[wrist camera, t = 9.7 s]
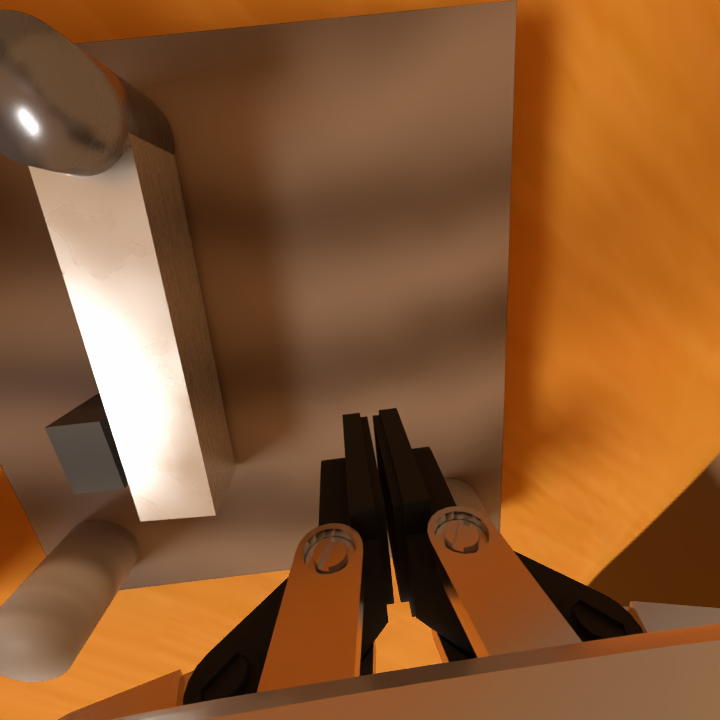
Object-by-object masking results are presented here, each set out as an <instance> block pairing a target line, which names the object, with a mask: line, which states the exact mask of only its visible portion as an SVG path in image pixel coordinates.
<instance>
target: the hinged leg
mask: <svg viewBox="0 0 720 720" xmlns="http://www.w3.org/2000/svg"><path fill="white" fill-rule="evenodd" d="M0 153H2V154H3V155H5V156H7V157H8V158H10V159H12V160H14V161H16V162H19V163H21V164H24V165H28V167H29V170H30V173H31V176H32V179H33V183H34V186H35V189H36V192H37V195H38V198H39V202H40V205H41V208H42V211H43V214H44V217H45V221H46V224H47V227H48V230H49V233H50V236H51V240H52V243H53V246H54V249H55V252H56V256H57V259H58V262H59V265H60V268H61V271H62V275H63V278H64V281H65V284H66V287H67V290H68V294H69V297H70V300H71V303H72V306H73V309H74V313H75V316H76V319H77V322H78V325H79V328H80V332H81V335H82V338H83V341H84V344H85V348H86V351H87V354H88V357H89V360H90V363H91V367H92V370H93V373H94V376H95V379H96V382H97V386H98V389H99V392H100V395H101V398H102V401H103V405H104V408H105V411H106V414H107V417H108V420H109V424H110V427H111V430H112V433H113V436H114V440H115V443H116V446H117V449H118V452H119V455H120V459H121V462H122V465H123V468H124V471H125V474H126V478H127V481H128V484H129V487H130V490H131V493H132V497H133V500H134V503H135V506H136V509H137V512H138V516H139V519H140V521H153V520H165V519H178V518H190V517H203V516H215V515H216V514H217V512H218V510H219V507H220V505H221V503H222V501H223V498H224V496H225V494H226V492H227V489H228V487H229V485H230V483H231V481H232V478H233V476H234V474H235V472H236V467H235V462H234V456H233V451H232V446H231V441H230V436H229V431H228V426H227V421H226V416H225V411H224V406H223V400H222V395H221V390H220V385H219V380H218V375H217V370H216V365H215V360H214V355H213V350H212V344H211V339H210V334H209V329H208V324H207V319H206V314H205V309H204V304H203V299H202V294H201V288H200V283H199V278H198V273H197V268H196V263H195V258H194V253H193V248H192V243H191V238H190V233H189V227H188V222H187V217H186V212H185V207H184V202H183V197H182V192H181V187H180V182H179V177H178V171H177V166H176V161H175V156H174V154H175V143H174V137H173V133H172V130H171V127H170V124H169V122H168V120H167V118H166V117H165V115H164V114H163V112H162V111H161V109H160V108H159V107H158V106H157V105H156V104H155V103H154V102H153V101H152V100H151V99H150V98H148V97H147V96H146V95H144V94H143V93H142V92H140V91H139V90H137V89H136V88H135V87H133V86H132V85H130V84H129V83H128V82H126V81H125V80H124V79H122V78H121V77H119V76H118V75H117V74H115V73H114V72H113V71H111V70H110V69H108V68H107V67H106V66H104V65H103V64H102V63H100V62H99V61H97V60H96V59H95V58H93V57H92V56H90V55H89V54H88V53H86V52H85V51H84V50H82V49H81V48H79V47H78V46H77V45H75V44H74V43H73V42H71V41H70V40H68V39H67V38H66V37H64V36H63V35H62V34H60V33H59V32H57V31H56V30H55V29H53V28H52V27H50V26H49V25H47V24H46V23H44V22H43V21H41V20H39V19H37V18H35V17H33V16H31V15H28V14H25V13H22V12H18V11H13V10H0Z"/></svg>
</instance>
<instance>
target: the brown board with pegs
mask: <svg viewBox="0 0 720 720" xmlns="http://www.w3.org/2000/svg"><path fill="white" fill-rule="evenodd" d="M516 8H517V0H513V1H503V2H493V3H483V4H473V5H463V6H452V7H442V8H432V9H422V10H412V11H402V12H392V13H382V14H371V15H361V16H351V17H341V18H331V19H321V20H311V21H301V22H291V23H280V24H270V25H260V26H250V27H240V28H230V29H220V30H210V31H199V32H189V33H179V34H169V35H159V36H149V37H139V38H129V39H118V40H108V41H98V42H88V43H78V44H75V45H77V46H78V47H79V48H81V49H82V50H84V51H85V52H86V53H88V54H89V55H90V56H92V57H93V58H95V59H96V60H97V61H99V62H100V63H102V64H103V65H104V66H106V67H107V68H108V69H110V70H111V71H113V72H114V73H115V74H117V75H118V76H119V77H121V78H122V79H124V80H125V81H126V82H128V83H129V84H130V85H132V86H133V87H135V88H136V89H137V90H139V91H140V92H142V93H143V94H144V95H146V96H147V97H148V98H150V99H151V100H152V101H153V102H154V103H155V104H156V105H157V106H158V107H159V108H160V109H161V111H162V112H163V114H164V115H165V117H166V118H167V120H168V122H169V124H170V127H171V130H172V133H173V137H174V143H175V154H174V156H175V161H176V166H177V171H178V177H179V182H180V187H181V192H182V197H183V202H184V207H185V212H186V217H187V222H188V227H189V233H190V238H191V243H192V248H193V253H194V258H195V263H196V268H197V273H198V278H199V283H200V288H201V294H202V299H203V304H204V309H205V314H206V319H207V324H208V329H209V334H210V339H211V344H212V350H213V355H214V360H215V365H216V370H217V375H218V380H219V385H220V390H221V395H222V400H223V406H224V411H225V416H226V421H227V426H228V431H229V436H230V441H231V446H232V451H233V456H234V462H235V467H236V472H235V474H234V476H233V478H232V481H231V483H230V485H229V487H228V489H227V492H226V494H225V496H224V498H223V501H222V503H221V505H220V507H219V510H218V512H217V514H216V515H215V516H203V517H190V518H178V519H165V520H153V521H140V519H139V516H138V512H137V509H136V506H135V503H134V500H133V497H132V493H131V490H130V487H129V484H128V481H127V478H126V474H125V471H124V468H123V465H122V462H121V459H120V455H119V452H118V449H117V446H116V443H115V440H114V436H113V433H112V430H111V427H110V424H109V420H108V417H107V414H106V411H105V408H104V405H103V401H102V398H101V395H100V392H99V389H98V386H97V382H96V379H95V376H94V373H93V370H92V367H91V363H90V360H89V357H88V354H87V351H86V348H85V344H84V341H83V338H82V335H81V332H80V328H79V325H78V322H77V319H76V316H75V313H74V309H73V306H72V303H71V300H70V297H69V294H68V290H67V287H66V284H65V281H64V278H63V275H62V271H61V268H60V265H59V262H58V259H57V256H56V252H55V249H54V246H53V243H52V240H51V236H50V233H49V230H48V227H47V224H46V221H45V217H44V214H43V211H42V208H41V205H40V202H39V198H38V195H37V192H36V189H35V186H34V183H33V179H32V176H31V173H30V170H29V167H28V165H24V164H21V163H19V162H16V161H14V160H12V159H10V158H8V157H7V156H5V155H3V154H2V153H0V464H1V466H2V468H3V470H4V472H5V474H6V476H7V478H8V480H9V482H10V484H11V486H12V488H13V490H14V492H15V494H16V496H17V498H18V500H19V502H20V504H21V506H22V508H23V510H24V512H25V514H26V516H27V518H28V520H29V522H30V524H31V526H32V528H33V530H34V532H35V534H36V536H37V538H38V540H39V542H40V544H41V546H42V548H43V550H44V552H45V554H46V556H47V557H46V558H45V559H44V560H43V561H42V563H41V564H40V565H39V566H38V567H37V568H36V569H35V570H34V571H33V572H32V573H31V574H30V576H29V577H28V578H27V579H26V580H25V581H24V582H23V583H22V584H21V585H20V586H19V588H18V589H17V590H16V591H15V592H14V593H13V594H12V595H11V596H10V597H9V598H8V599H7V601H6V602H5V603H4V604H3V605H2V606H1V607H0V675H2V676H4V677H7V678H10V679H14V680H18V681H25V682H41V681H48V680H51V679H54V678H57V677H59V676H61V675H63V674H64V673H65V672H66V671H67V670H68V669H69V668H70V667H71V665H72V663H73V662H74V660H75V659H76V657H77V655H78V654H79V652H80V651H81V649H82V648H83V646H84V644H85V643H86V641H87V640H88V638H89V636H90V635H91V633H92V632H93V630H94V628H95V627H96V625H97V624H98V622H99V621H100V619H101V617H102V616H103V614H104V613H105V611H106V609H107V608H108V606H109V605H110V603H111V601H112V600H113V598H114V597H115V595H116V594H117V592H118V590H125V589H133V588H141V587H150V586H158V585H166V584H174V583H183V582H191V581H199V580H208V579H216V578H224V577H232V576H241V575H249V574H257V573H266V572H274V571H282V570H290V569H291V566H292V563H293V559H294V555H295V552H296V549H297V547H298V545H299V542H300V541H301V540H302V538H303V537H304V536H305V535H306V534H307V533H309V532H310V531H311V530H313V529H314V528H316V527H318V526H319V499H320V473H321V461H322V460H330V459H337V458H345V448H344V433H343V418H342V415H344V414H352V413H360V417H366V416H367V418H368V423H369V428H370V433H371V438H372V443H373V448H374V453H375V458H376V463H377V456H376V446H375V436H374V426H373V415H379V410H384V409H392V408H397V410H398V413H399V416H400V418H401V421H402V424H403V427H404V429H405V432H406V435H407V438H408V440H409V443H410V446H411V448H412V449H413V448H421V447H430V449H431V450H432V452H433V455H434V457H435V459H436V461H437V464H438V466H439V468H440V470H441V472H442V475H443V477H444V479H445V481H446V483H447V486H448V488H449V490H450V492H451V494H452V497H453V499H454V501H455V503H456V505H457V506H459V507H467V508H470V509H473V510H476V511H478V512H480V513H481V514H483V515H485V516H486V517H487V518H488V519H489V520H490V521H491V522H492V523H493V525H494V526H495V527H496V529H497V530H498V531H499V533H500V517H501V485H502V454H503V422H504V390H505V358H506V326H507V295H508V263H509V231H510V199H511V167H512V136H513V104H514V72H515V40H516ZM377 468H378V466H377ZM387 534H388V532H387ZM388 544H389V555H390V557H392V553H391V548H390V542H389V537H388Z"/></svg>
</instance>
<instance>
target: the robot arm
mask: <svg viewBox="0 0 720 720" xmlns="http://www.w3.org/2000/svg"><path fill="white" fill-rule="evenodd" d="M342 418H343V433H344V448H345V458H337V459H330V460H322V461H321V473H320V499H319V526H318V527H316V528H314V529H313V530H311V531H310V532H309V533H307V534H306V535H305V536H304V537H303V538H302V540H301V541H300V542H299V545H298V547H297V549H296V552H295V555H294V559H293V563H292V566H291V570H290V574H289V577H288V578H287V579H286V580H285V581H284V582H283V583H282V584H281V585H280V586H278V587H277V588H276V589H275V590H274V591H273V592H272V593H271V594H270V595H269V596H268V597H267V598H266V599H265V600H264V601H263V602H262V603H261V604H260V605H258V606H257V607H256V608H255V609H254V610H253V611H252V612H251V613H250V614H249V615H248V616H247V617H246V618H245V619H244V620H243V621H242V622H241V623H240V624H238V625H237V626H236V627H235V628H234V629H233V630H232V631H231V632H230V633H229V634H228V635H227V636H226V637H225V638H224V639H223V640H222V641H221V642H220V643H218V644H217V645H216V646H215V647H214V648H213V649H212V650H211V651H210V652H209V653H208V654H207V655H206V656H205V657H204V658H203V660H202V661H201V662H200V663H199V664H198V665H197V667H196V668H195V670H194V671H192V672H189V673H187V674H184V675H183V674H182V672H181V670H177V671H175V672H172V673H170V674H167V675H165V676H162V677H160V678H157V679H155V680H152V681H149V682H147V683H144V684H142V685H139V686H137V687H134V688H132V689H129V690H127V691H124V692H122V693H119V694H117V695H114V696H112V697H109V698H106V699H104V700H101V701H99V702H96V703H94V704H91V705H89V706H86V707H84V708H81V709H79V710H76V711H74V712H71V713H69V714H67V715H65V716H64V717H62V718H60V719H58V720H720V609H719V608H708V607H696V606H684V605H672V604H659V603H648V602H635V601H631V602H630V606H629V607H622V606H621V605H620V604H619V603H617V602H616V601H614V600H612V599H611V598H609V597H608V596H606V595H604V594H602V593H600V592H598V591H596V590H594V589H592V588H590V587H588V586H585V585H583V584H581V583H579V582H577V581H575V580H573V579H571V578H569V577H567V576H565V575H563V574H561V573H559V572H556V571H554V570H552V569H550V568H548V567H546V566H544V565H542V564H540V563H538V562H536V561H534V560H532V559H530V558H527V557H525V556H523V555H521V554H519V553H517V552H515V551H513V550H512V548H511V547H510V546H509V545H508V543H507V542H506V541H505V539H504V538H503V537H502V535H501V534H500V533H499V531H498V530H497V529H496V527H495V526H494V525H493V523H492V522H491V521H490V520H489V519H488V518H487V517H486V516H485V515H483V514H481V513H480V512H478V511H476V510H473V509H470V508H467V507H459V506H457V505H456V503H455V501H454V499H453V497H452V494H451V492H450V490H449V488H448V486H447V483H446V481H445V479H444V477H443V475H442V472H441V470H440V468H439V466H438V464H437V461H436V459H435V457H434V455H433V452H432V450H431V449H430V447H421V448H413V449H412V448H411V446H410V443H409V440H408V438H407V435H406V432H405V429H404V427H403V424H402V421H401V418H400V416H399V413H398V410H397V408H392V409H384V410H379V415H373V426H374V436H375V446H376V456H377V463H376V458H375V453H374V448H373V443H372V438H371V433H370V428H369V423H368V418H367V416H366V417H360V413H352V414H344V415H342ZM377 466H378V468H377ZM387 532H388V534H387ZM388 537H389V542H390V548H391V553H392V558H393V564H394V569H395V574H396V580H397V585H398V590H399V596H400V600H401V602H407V601H409V604H410V608H411V613H412V617H415V616H416V618H418V619H419V620H421V621H422V622H423V623H425V624H426V625H428V626H429V627H430V628H432V635H433V639H434V642H435V645H436V647H437V650H438V652H439V655H440V657H441V660H442V662H443V663H441V664H435V665H428V666H422V667H415V668H409V669H403V670H396V671H390V672H383V673H377V674H376V644H375V639H376V638H377V637H378V635H379V634H380V632H381V631H382V630H383V628H384V627H385V626H386V624H387V623H388V614H387V604H394V597H393V586H392V576H391V565H390V555H389V544H388Z"/></svg>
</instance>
